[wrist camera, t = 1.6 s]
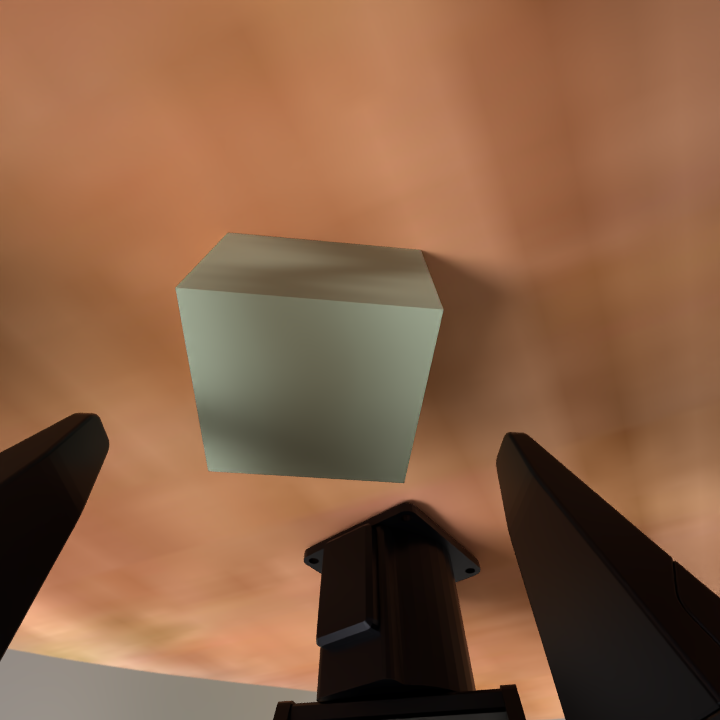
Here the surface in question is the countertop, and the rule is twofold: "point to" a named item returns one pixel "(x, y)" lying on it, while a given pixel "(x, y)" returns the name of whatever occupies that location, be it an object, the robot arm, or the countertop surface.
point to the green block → (309, 355)
